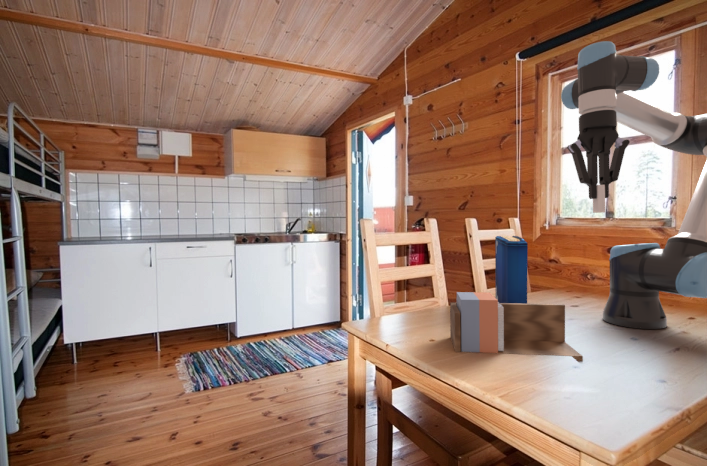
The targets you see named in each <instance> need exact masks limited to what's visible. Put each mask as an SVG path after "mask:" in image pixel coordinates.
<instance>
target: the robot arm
mask: <svg viewBox="0 0 707 466" xmlns="http://www.w3.org/2000/svg"><path fill="white" fill-rule="evenodd" d="M577 56H578V57H577V67H576V70H577V78H576V79H575V80H573V81H571V82H569V83H568V84H566V85H565V86H564V87H563V89H562V90H561V94H560V95H561V96H560V98H561V102H562V104H563V105H564V107H565V108H567V109H568V110H575V109H578V114H579V115H580V116H578V131H579V133H578V136H577V139H576V140H575V141H574V142H572V143H571V144H569V145H567V150H568V152H570V153H571V156H572V159H573V163H574V166H575V170H576V174H577V178H578V181H579V183H580V184H583V185H584V184H585V185H586V186H587V187H588V199H589V200H591V199H592V213H593V214H595V213H598V214H600V213H606V199H608V198H609V196H610V184H611V183H614V182H616V181H618V180H619V176H620V171H621V167H622V164H623V160H624V156H625V151H626V149H627V147H628V146H629V144H630V142H631V141H630V140H629V139H624V138H621V137H620V136H619V133H618V131H617V125H618V123H619V124H621V125H623V126H625V127H628V128H630V129H631V130H634V131H635V132H638V133H641V134H643V135H645V136H647V137H650V138H651V141H652V142H653V143H654V144H656V145H658V146H660V147H662V148H665V149H667V150H670V151H674V152H677V153H682V154H686V155H690V156H691V155H692V156H705V158H707V113H704V114H699V115H697V114H696V115H684V114H682V113H679V112H673V113H670V112H668V111H666V110H664V109H662V108H660V107H658V106H656V105H653V104H652V103H649V102H647V101H645V100H643V99H641V98H639V97H637V96H635V95H633V94H631V93H628V91H632V92H636V91H644V90H646V89H648V88H650V87H651V86H653V84H655V82H656V81H657V79H658V78H659V75H660V64H659V62H658V61H657V60H655V58H652V57H646V56H644V55H643V56H642V55H639V56H637V55H621V54H617V50H616V44H615V43H613V42H612V41H609V40H608V41H607V40H606V41H605V40H603V41H597V42H594V43H591V44H589V45H586V46H585V47H583V48H582V49H581V50H580V51H579V52H578V55H577ZM613 146H614V150H613V153H612V157H611V163H610V155H611V148H612V147H613ZM581 149H584V151H585V156H586V159H587V160H586V162H587V163H586V162H585V158H584V156H583V152H582V150H581ZM683 217H684V218H682V219H683V220H682V222H681V225H680V227H679V230H678V232H677V234H676V235H674V236H671V237H669V238H668V239H667V240H666V244H665V246H664V248H661V246H660V244H659V243H658V242H652V243H651V242H649V243H633V244H622V245H620V244H619V245H614V246H612V247H611V249H610V252H609V260H608V261H609V296H608V299H607V300H606V303H605V306H604V308H603V311H602V320H603V321H604V322H607V323H609V324H613V325H615V326H620V327H623V328H624V327H626V328H632V329H633V328H634V329H642V330H662V329H665V328H667V327H668V326H667V325H668V324H667V323H668V318H667V316H666V313H665V310H664V308H663V305H662V302H661V300H660V292H662V293H666V294H671V295H673V294H674V295H678V296H683V297H687V298H697V299H698V298H700V299H707V159H706V161H705V163H704V166H703V169H702V171H701V173H700V176H699V179H698V181H697V184H696V187H695V189H694V192H693V194H692V196H691V199H690V202H689V205H688V207H687V210H686V212H685V215H684V216H683Z"/></svg>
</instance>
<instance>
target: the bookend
mask: <svg viewBox="0 0 707 466" xmlns="http://www.w3.org/2000/svg"><path fill="white" fill-rule="evenodd" d="M498 351H504V307H503V306H502V305H501V304H500V303H499V302H498Z"/></svg>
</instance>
